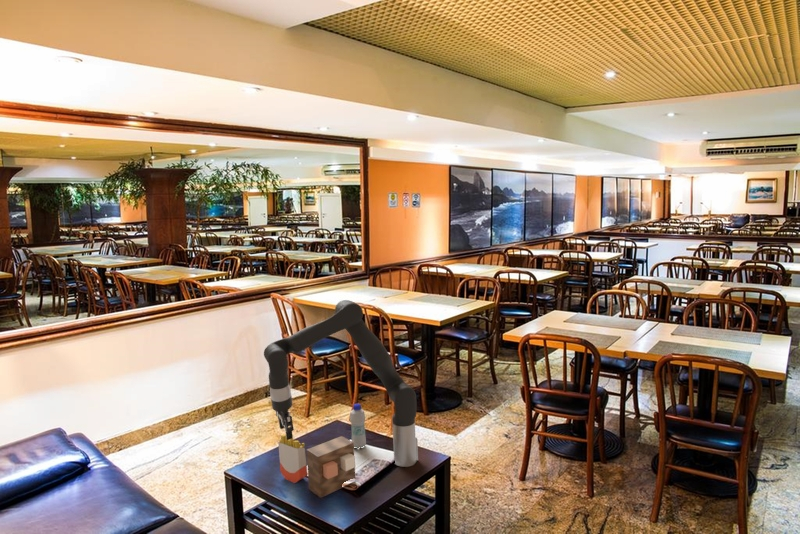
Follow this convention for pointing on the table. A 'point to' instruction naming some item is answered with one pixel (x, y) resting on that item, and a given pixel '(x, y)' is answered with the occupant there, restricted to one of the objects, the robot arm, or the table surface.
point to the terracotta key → (329, 469)
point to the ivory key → (347, 462)
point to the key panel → (326, 454)
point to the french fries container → (292, 459)
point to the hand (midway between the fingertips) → (286, 433)
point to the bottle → (358, 426)
